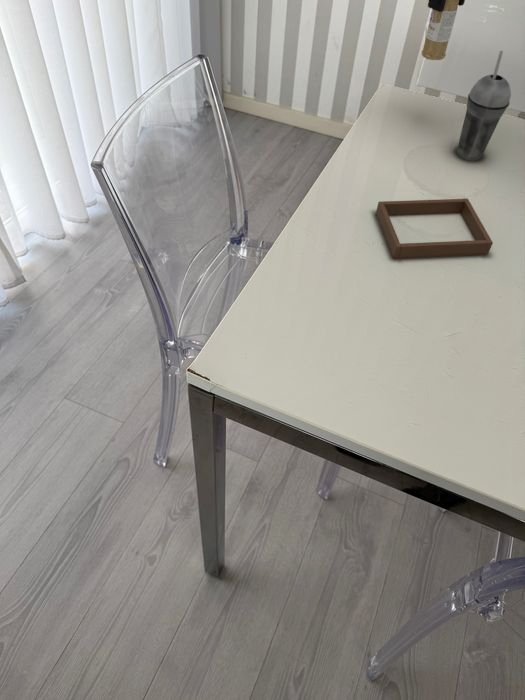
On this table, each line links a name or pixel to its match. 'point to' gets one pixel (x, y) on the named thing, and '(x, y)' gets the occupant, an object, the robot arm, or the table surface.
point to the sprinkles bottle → (439, 31)
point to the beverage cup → (483, 113)
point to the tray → (433, 248)
